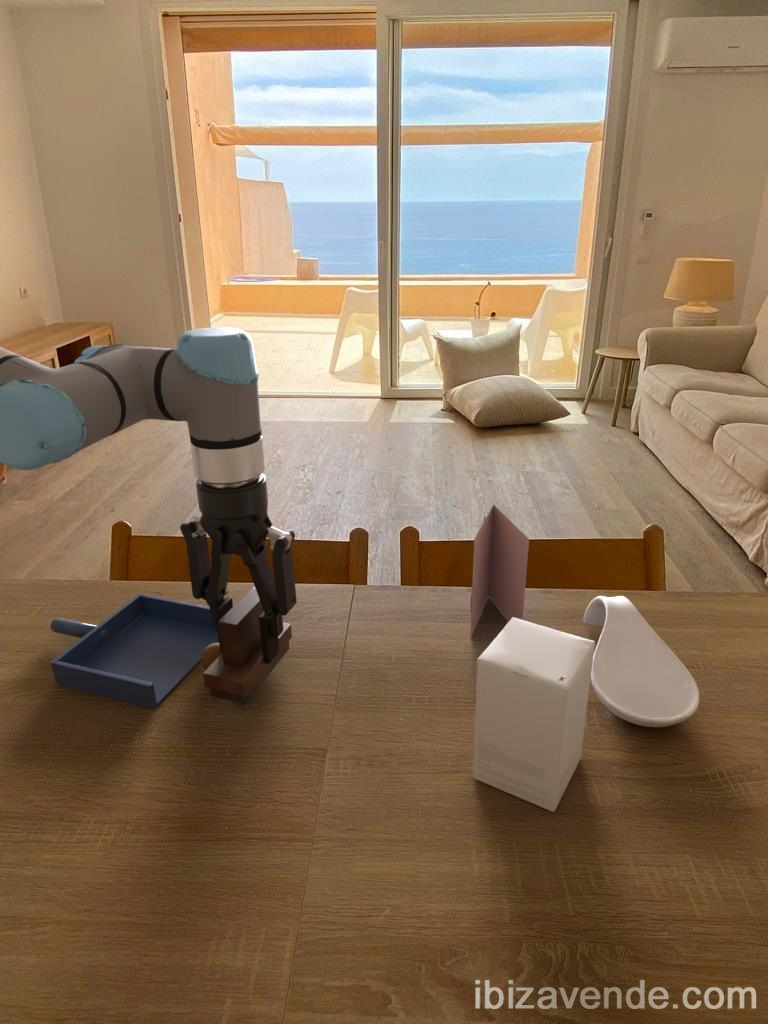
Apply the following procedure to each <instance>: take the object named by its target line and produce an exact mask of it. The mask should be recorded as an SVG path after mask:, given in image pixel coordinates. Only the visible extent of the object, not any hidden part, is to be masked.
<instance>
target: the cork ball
mask: <svg viewBox="0 0 768 1024" xmlns="http://www.w3.org/2000/svg"><path fill="white" fill-rule="evenodd" d="M220 655H221V654H220V646H219V643H213V644H211V645H209V646H208V647H206V648H205V650H204V651H203V653H202V656H201V661H200V663H201V666H202V668H203V669H204V671H206V670H207V669H208V668H209V666H210V665H211V664H212V663H213V662H214V661H215V660H216V659H217V658H218V657H219V656H220Z"/></svg>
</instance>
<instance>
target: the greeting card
mask: <svg viewBox="0 0 768 1024" xmlns="http://www.w3.org/2000/svg"><path fill="white" fill-rule="evenodd" d="M529 545H530V538H529V537H528V536H527V535H526V534H525V533H524V532H523V531H522V530H520V529H519V528H518V526H517V525H515V524H514V522H512V520H511V519H509V517H507V515H506V514H504V512H502V511H501V510H500V508H498V506H496V505H495V504H494V503H493V504H492V505H491V508H490V509H489V511H488V513H487V515H486V516H485V515H484V518H483V520H482V523H481V526H480V527H479V529H478V531H477V533H476V535H475V537H474V540H473V560H472V561H473V562H472V565H473V566H472V583H471V585H472V586H471V596H470V630H469V631H470V632H469V633H470V634H469V638H471V637H472V635H473V633H474V630H475V628H476V626H477V624H478V622H479V619H480V616H481V614H482V612H483V610H484V608H485V605H486V603H487V601H488V598H489V599H490V600H491V601H492V602H493V604H494V605H495V607H496V608H497V609H498V611H499V612H500V613H501V614H502V616H503V617H504V618H505V619H506V621H507V623H508V622H509V621H510V620H511V619H512V617H514V618H518V619H521V620H524V607H525V596H526V583H527V570H528V569H527V568H528V559H529V558H528V556H529Z"/></svg>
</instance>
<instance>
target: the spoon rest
mask: <svg viewBox="0 0 768 1024" xmlns="http://www.w3.org/2000/svg"><path fill="white" fill-rule="evenodd" d="M582 621H583V623H584V624H585V625H589V626H603V628H602V631H601V634H600V636H599V639H598V641H597V644H596V647H595V648H594V655H593V663H592V670H591V678H590V682H591V684H592V689H593V690H594V693H595V695H596V696H597V698H598V700H599V701H600V702H601V703H602V705H603V706H604V707H605V708H606V709H607V710H608V711H610V712H611V713H612V714H613V715H615V716H617V717H618V718H619V719H621V720H623V721H626V722H628V723H631V724H634V725H637V726H640V727H641V726H642V727H647V728H665V727H669V726H673V725H677V724H680V723H682V722H684V721H686V720H688V719H689V718H690V717H692V716H693V715H694V714H695V713H696V712H697V710H698V708H699V705H700V691H699V688H698V685H697V682H696V680H695V679H694V676H692V674H691V671H689V670H688V668H687V667H686V665H684V663H683V662H682V661H681V660H680V658H679V657H678V656H677V655H676V654H675V652H674V651H673V650H672V649H671V648H670V647H669V646H668V644H666V643H665V642H664V640H663V639H662V638H661V637H660V635H658V634H657V632H656V631H655V630H654V629H653V628H652V627H651V625H650V624H649V623H648V622H647V621H646V619H645V618H644V616H642V614H641V613H640V612H639V610H638V609H637V607H635V605H634V603H632V601H631V600H630V599H628V597H626V596H624V595H617V596H605V595H598V596H595V597H594V598H593V599H592V600H591V601H590V603H589V604H588V605H587V608H586V610H585V613H584V615H583V619H582Z"/></svg>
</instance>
